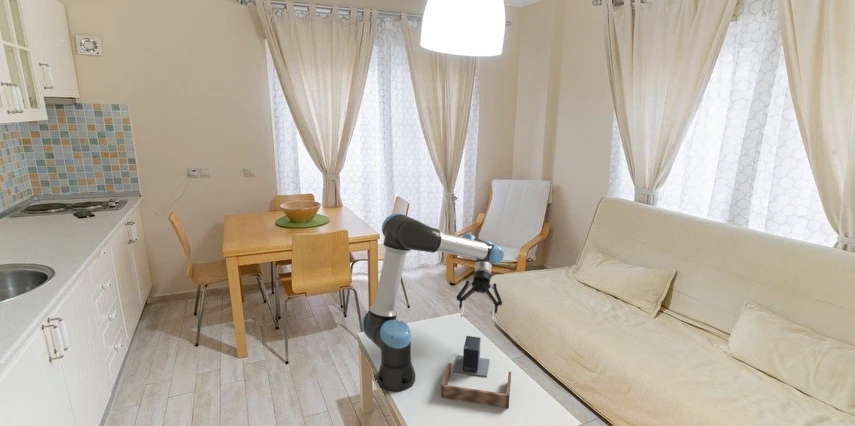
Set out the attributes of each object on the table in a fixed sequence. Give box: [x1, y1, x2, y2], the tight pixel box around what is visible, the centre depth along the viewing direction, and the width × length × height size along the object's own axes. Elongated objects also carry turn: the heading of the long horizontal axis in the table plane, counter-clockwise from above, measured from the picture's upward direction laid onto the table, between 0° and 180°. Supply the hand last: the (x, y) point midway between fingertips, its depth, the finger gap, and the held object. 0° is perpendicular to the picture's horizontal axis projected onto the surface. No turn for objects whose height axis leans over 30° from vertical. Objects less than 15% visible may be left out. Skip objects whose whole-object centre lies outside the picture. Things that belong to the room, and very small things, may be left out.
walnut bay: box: [440, 362, 512, 409], centre depth 166 cm, size 25×15×5 cm, turn 77°
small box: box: [462, 335, 482, 373], centre depth 180 cm, size 11×6×10 cm, turn 168°
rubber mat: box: [452, 354, 491, 378], centre depth 181 cm, size 14×12×1 cm
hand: (476, 317), depth 188 cm, fingers open, 13 cm apart
